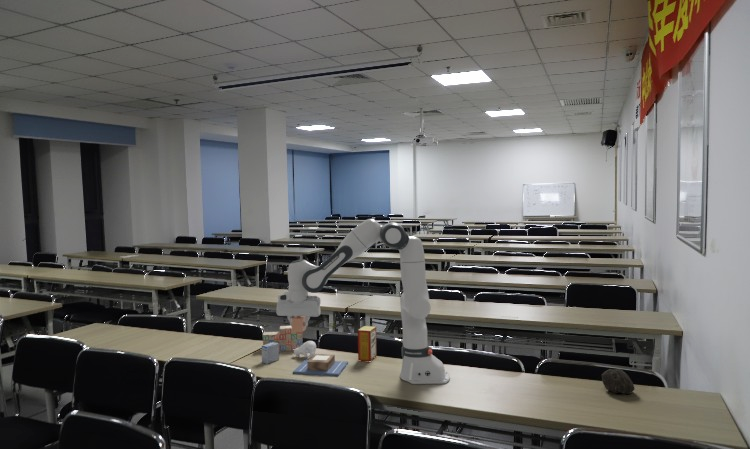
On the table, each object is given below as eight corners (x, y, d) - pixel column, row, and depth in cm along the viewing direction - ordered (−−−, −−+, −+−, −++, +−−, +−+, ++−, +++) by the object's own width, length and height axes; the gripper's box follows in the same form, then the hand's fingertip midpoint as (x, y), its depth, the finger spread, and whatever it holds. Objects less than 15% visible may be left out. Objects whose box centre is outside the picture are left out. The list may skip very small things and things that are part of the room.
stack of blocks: (262, 352, 261) (262, 329, 261) (263, 348, 268) (263, 326, 267) (302, 349, 264) (302, 327, 264) (302, 346, 270) (302, 324, 270)
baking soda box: (364, 355, 252) (364, 325, 252) (376, 356, 250) (376, 325, 250) (358, 360, 243) (357, 329, 243) (370, 362, 241) (370, 330, 241)
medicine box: (273, 358, 250) (273, 341, 249) (279, 359, 247) (279, 343, 247) (261, 362, 243) (261, 345, 243) (267, 364, 240) (267, 346, 240)
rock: (640, 393, 194) (635, 368, 194) (615, 399, 192) (610, 374, 193) (624, 387, 204) (619, 363, 204) (600, 392, 202) (595, 368, 203)
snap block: (306, 329, 221) (305, 315, 221) (302, 332, 216) (302, 317, 216) (295, 328, 222) (295, 314, 222) (291, 331, 217) (291, 317, 217)
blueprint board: (348, 363, 239) (347, 353, 239) (338, 376, 222) (338, 364, 222) (305, 361, 244) (305, 351, 243) (293, 373, 226) (292, 362, 226)
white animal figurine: (311, 342, 246) (290, 343, 250) (313, 359, 246) (292, 359, 250) (316, 339, 252) (295, 340, 256) (318, 355, 252) (297, 356, 256)
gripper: (322, 294, 220) (322, 324, 220) (279, 293, 224) (280, 323, 224) (318, 297, 214) (318, 328, 214) (274, 296, 218) (275, 326, 218)
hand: (298, 325), depth 219 cm, fingers closed on snap block, 5 cm apart
